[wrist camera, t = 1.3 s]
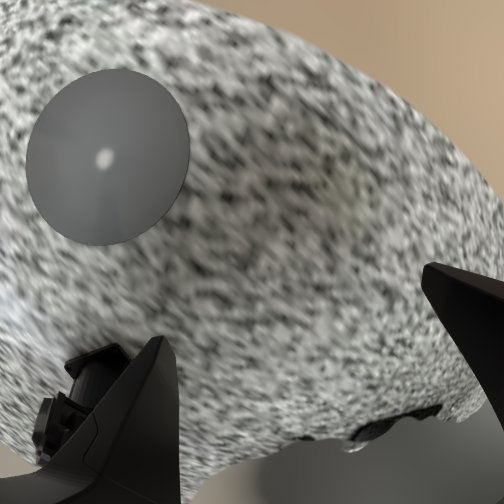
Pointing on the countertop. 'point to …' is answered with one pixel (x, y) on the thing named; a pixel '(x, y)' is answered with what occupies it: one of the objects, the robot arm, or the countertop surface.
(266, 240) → the countertop surface
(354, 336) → the countertop surface
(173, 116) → the slate coaster
